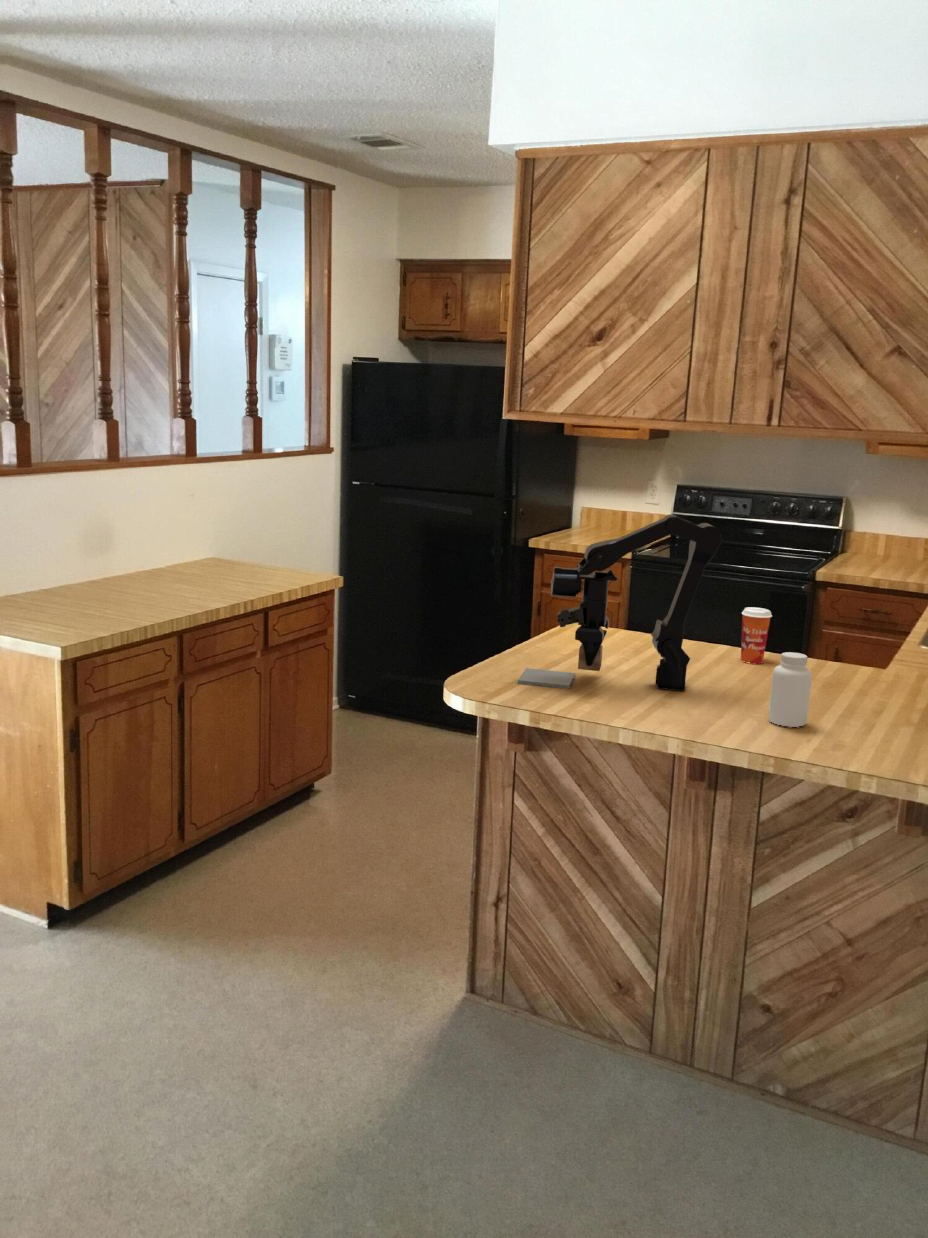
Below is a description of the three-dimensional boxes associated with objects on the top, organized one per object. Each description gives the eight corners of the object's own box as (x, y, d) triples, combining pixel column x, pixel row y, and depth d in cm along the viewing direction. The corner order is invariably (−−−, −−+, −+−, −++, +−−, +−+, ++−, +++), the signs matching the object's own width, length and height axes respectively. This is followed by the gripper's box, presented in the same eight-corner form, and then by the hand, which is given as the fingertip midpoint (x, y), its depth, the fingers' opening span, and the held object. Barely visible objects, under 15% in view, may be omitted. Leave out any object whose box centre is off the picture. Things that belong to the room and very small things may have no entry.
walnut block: (601, 666, 255) (602, 645, 254) (599, 671, 250) (600, 650, 249) (580, 664, 256) (581, 643, 255) (577, 669, 251) (579, 648, 250)
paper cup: (735, 663, 281) (741, 610, 278) (737, 656, 288) (742, 605, 285) (766, 666, 279) (772, 613, 276) (767, 660, 286) (773, 608, 283)
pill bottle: (776, 715, 235) (784, 648, 232) (812, 723, 231) (820, 655, 227) (761, 722, 229) (769, 654, 226) (797, 731, 224) (805, 661, 221)
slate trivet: (574, 676, 260) (575, 673, 259) (568, 688, 248) (569, 685, 248) (525, 671, 262) (526, 668, 262) (517, 683, 251) (517, 680, 250)
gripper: (565, 588, 260) (561, 651, 264) (555, 602, 242) (550, 669, 246) (611, 592, 258) (606, 655, 261) (604, 606, 240) (599, 674, 243)
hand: (590, 663), depth 253 cm, fingers closed on walnut block, 5 cm apart
